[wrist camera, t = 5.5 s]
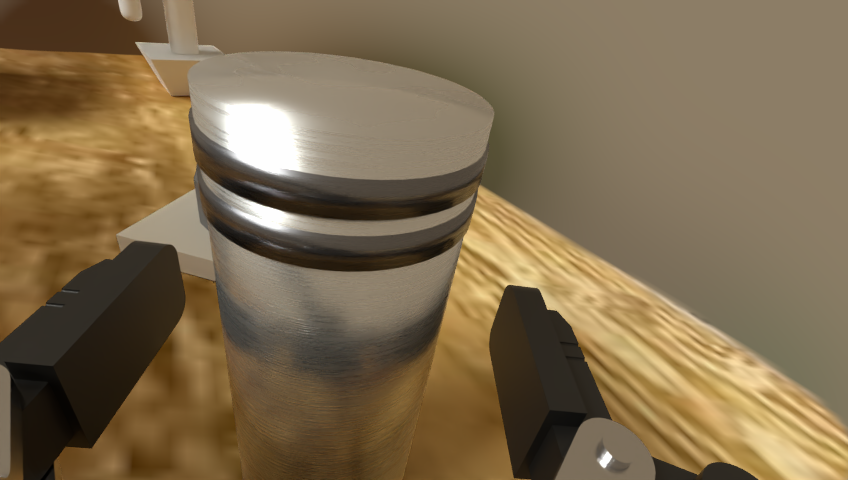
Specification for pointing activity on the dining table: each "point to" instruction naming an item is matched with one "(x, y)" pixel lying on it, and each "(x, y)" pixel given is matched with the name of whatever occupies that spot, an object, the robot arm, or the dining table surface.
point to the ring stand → (178, 233)
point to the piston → (332, 248)
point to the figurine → (172, 44)
